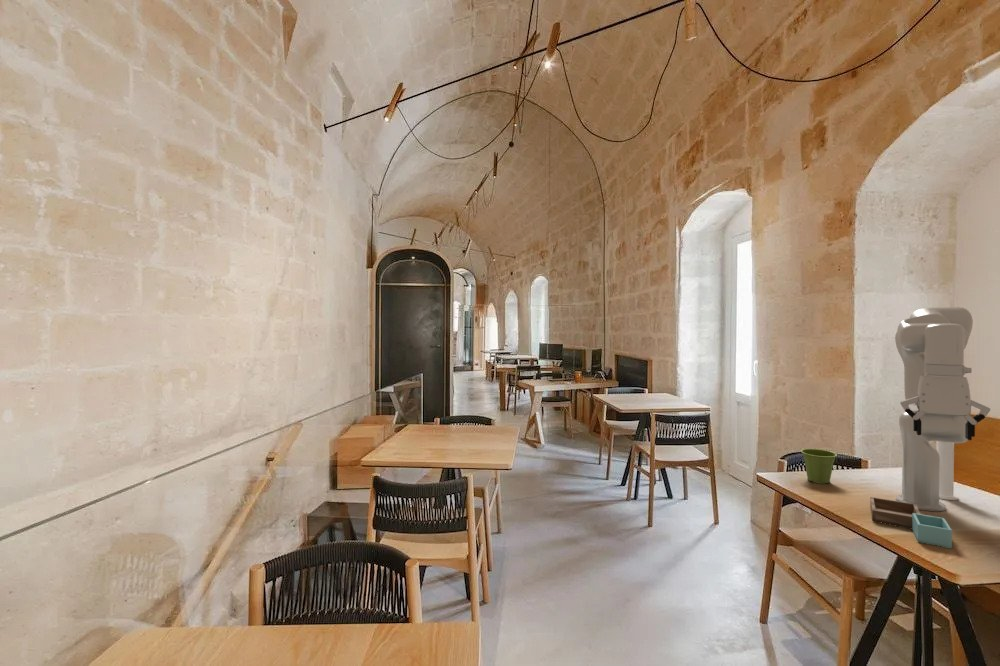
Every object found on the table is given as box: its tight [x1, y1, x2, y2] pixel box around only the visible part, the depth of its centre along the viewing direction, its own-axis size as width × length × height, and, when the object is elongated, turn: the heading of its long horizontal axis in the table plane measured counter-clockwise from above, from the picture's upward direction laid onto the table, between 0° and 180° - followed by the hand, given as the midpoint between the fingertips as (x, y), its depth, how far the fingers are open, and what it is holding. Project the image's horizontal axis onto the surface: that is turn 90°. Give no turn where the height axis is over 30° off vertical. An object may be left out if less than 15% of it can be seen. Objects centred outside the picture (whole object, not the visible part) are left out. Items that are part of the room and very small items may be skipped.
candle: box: [936, 441, 959, 501], centre depth 170 cm, size 7×7×25 cm
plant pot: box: [800, 448, 838, 485], centre depth 188 cm, size 12×12×11 cm
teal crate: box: [911, 513, 953, 550], centre depth 136 cm, size 10×7×5 cm
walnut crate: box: [869, 496, 921, 529], centre depth 151 cm, size 15×12×4 cm
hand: (943, 436), depth 126 cm, fingers open, 9 cm apart
